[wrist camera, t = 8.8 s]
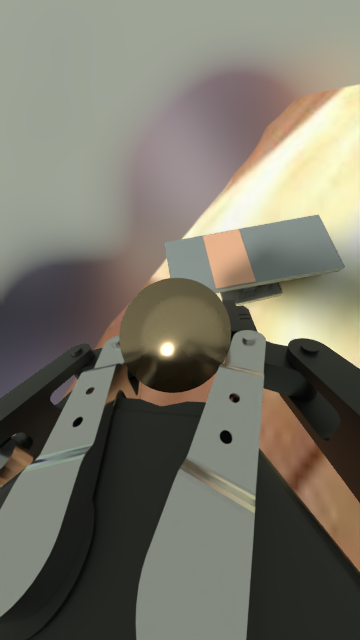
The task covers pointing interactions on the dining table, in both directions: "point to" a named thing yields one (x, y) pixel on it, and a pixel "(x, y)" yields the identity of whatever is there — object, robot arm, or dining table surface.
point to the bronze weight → (175, 335)
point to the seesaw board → (255, 255)
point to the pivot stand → (252, 293)
